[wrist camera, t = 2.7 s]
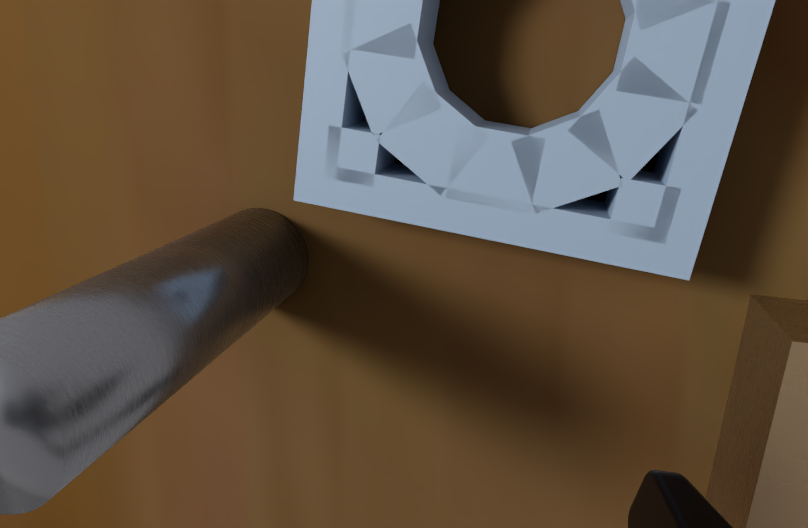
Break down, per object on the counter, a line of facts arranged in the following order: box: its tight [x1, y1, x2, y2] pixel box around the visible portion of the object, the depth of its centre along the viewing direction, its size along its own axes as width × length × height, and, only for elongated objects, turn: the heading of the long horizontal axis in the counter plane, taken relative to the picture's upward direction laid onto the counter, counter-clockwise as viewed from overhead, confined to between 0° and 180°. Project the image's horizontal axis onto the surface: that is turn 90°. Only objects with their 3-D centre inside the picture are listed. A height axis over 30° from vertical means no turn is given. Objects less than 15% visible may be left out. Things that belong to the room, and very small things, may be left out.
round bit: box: [0, 208, 308, 514], centre depth 18 cm, size 4×4×12 cm
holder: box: [294, 0, 776, 280], centre depth 18 cm, size 12×12×2 cm
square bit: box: [706, 295, 808, 528], centre depth 20 cm, size 9×4×4 cm, turn 178°
